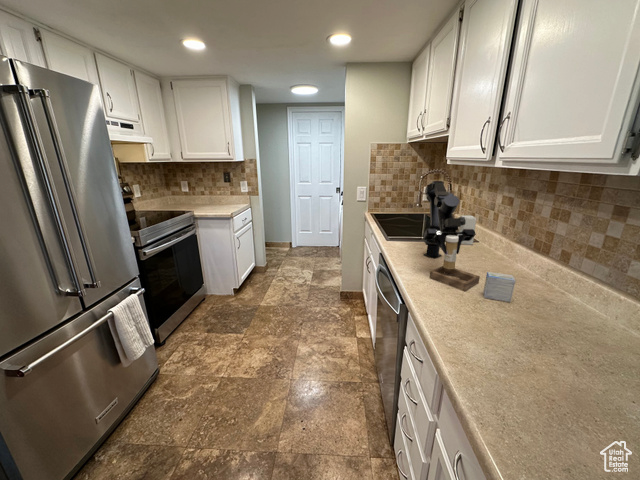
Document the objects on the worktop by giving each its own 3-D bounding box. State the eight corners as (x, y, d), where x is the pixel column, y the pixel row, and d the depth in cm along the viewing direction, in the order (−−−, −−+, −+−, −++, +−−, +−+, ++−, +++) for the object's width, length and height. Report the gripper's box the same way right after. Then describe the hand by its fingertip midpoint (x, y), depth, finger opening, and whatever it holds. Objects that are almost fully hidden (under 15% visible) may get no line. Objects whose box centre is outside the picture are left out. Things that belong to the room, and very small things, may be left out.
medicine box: (508, 297, 94) (513, 275, 92) (510, 303, 90) (516, 280, 88) (482, 292, 98) (486, 271, 95) (484, 298, 94) (488, 276, 91)
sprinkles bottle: (440, 266, 109) (443, 235, 105) (448, 264, 111) (451, 233, 107) (449, 270, 105) (453, 238, 101) (457, 268, 107) (461, 236, 103)
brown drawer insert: (429, 278, 110) (430, 271, 109) (443, 271, 116) (444, 265, 115) (465, 291, 98) (466, 284, 98) (478, 283, 105) (479, 276, 104)
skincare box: (472, 245, 149) (477, 218, 144) (460, 244, 151) (464, 217, 146) (468, 240, 157) (472, 215, 152) (456, 240, 158) (460, 214, 154)
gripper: (428, 209, 106) (432, 244, 99) (477, 209, 103) (486, 245, 96) (421, 223, 116) (425, 255, 109) (466, 223, 113) (473, 257, 106)
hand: (451, 253), depth 105 cm, fingers closed on sprinkles bottle, 4 cm apart
